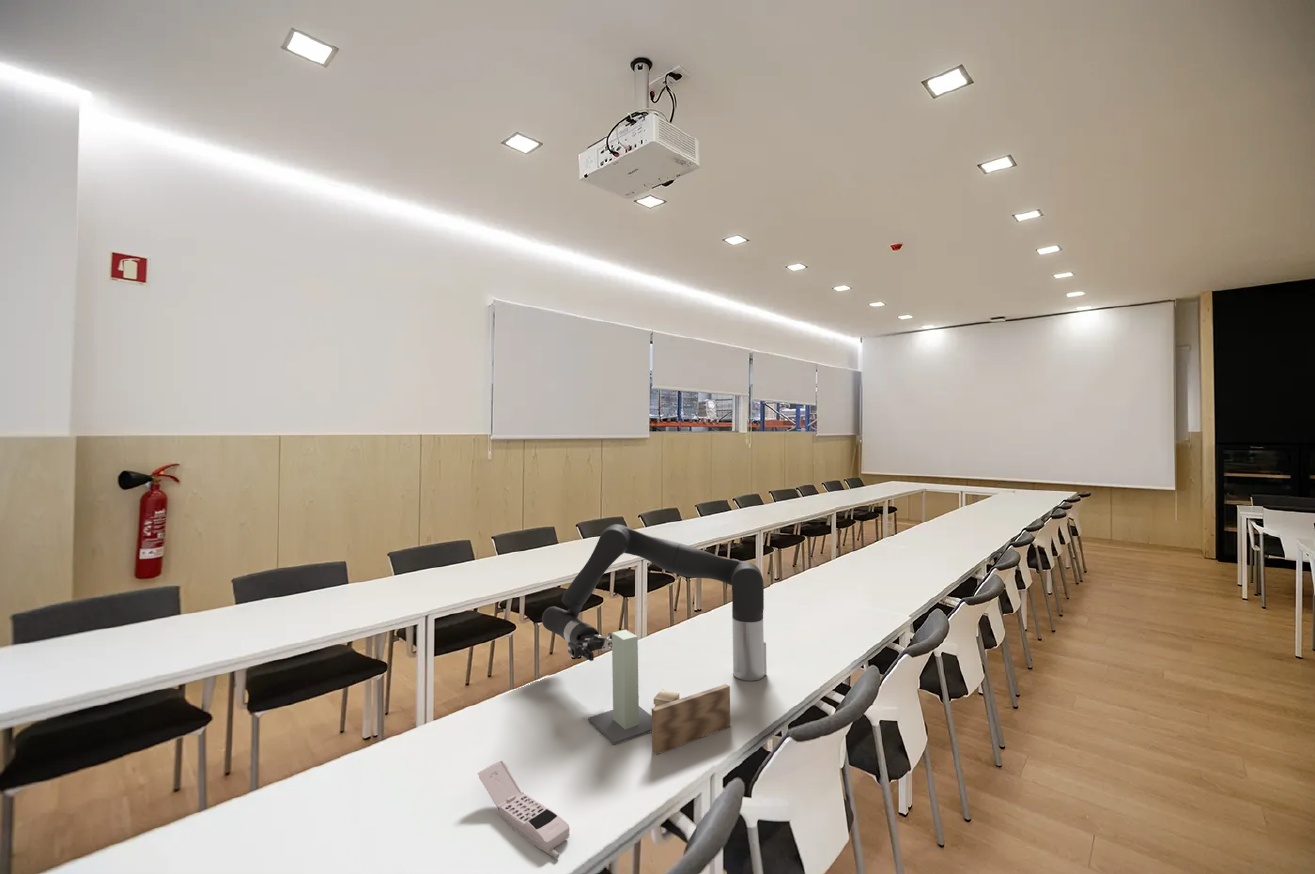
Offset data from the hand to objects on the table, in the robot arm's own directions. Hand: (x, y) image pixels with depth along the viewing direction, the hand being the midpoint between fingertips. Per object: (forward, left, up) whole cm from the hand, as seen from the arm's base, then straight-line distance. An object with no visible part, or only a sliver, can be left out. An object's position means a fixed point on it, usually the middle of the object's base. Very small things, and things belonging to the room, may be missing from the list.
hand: (607, 653), depth 147 cm
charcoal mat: (0, +9, -15) cm, 17 cm away
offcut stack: (-12, +10, -15) cm, 22 cm away
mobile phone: (+33, +30, -15) cm, 47 cm away
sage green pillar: (0, +10, -14) cm, 17 cm away
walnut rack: (-10, +21, -15) cm, 28 cm away
